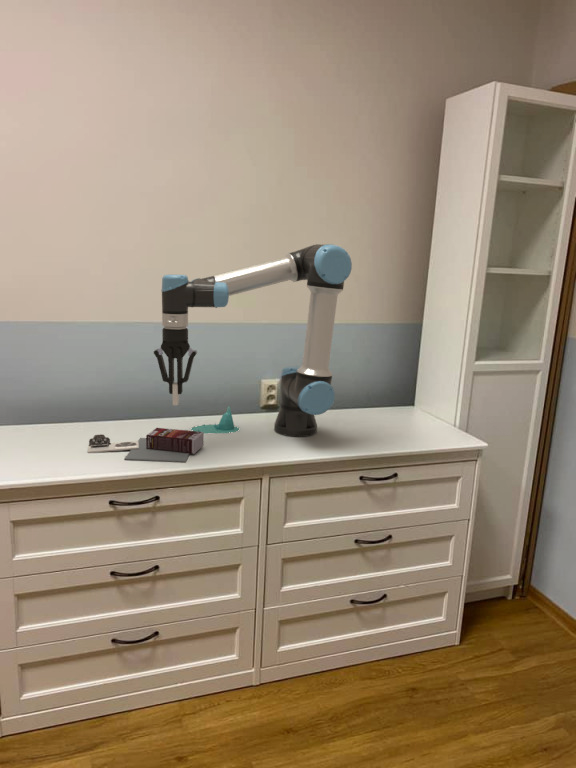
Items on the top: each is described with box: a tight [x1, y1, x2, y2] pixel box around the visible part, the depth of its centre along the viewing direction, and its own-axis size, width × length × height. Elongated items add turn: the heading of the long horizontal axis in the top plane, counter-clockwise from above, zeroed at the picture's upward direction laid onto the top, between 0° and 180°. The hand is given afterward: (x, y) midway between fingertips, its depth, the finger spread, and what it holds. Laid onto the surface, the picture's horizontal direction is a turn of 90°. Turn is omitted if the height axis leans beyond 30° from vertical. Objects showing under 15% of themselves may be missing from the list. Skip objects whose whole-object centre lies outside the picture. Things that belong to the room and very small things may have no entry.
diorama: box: [190, 405, 240, 434], centre depth 212 cm, size 12×20×9 cm, turn 100°
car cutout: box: [87, 434, 139, 454], centre depth 187 cm, size 15×7×4 cm, turn 105°
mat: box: [123, 437, 191, 463], centre depth 188 cm, size 18×20×1 cm
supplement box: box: [145, 427, 205, 455], centre depth 189 cm, size 9×5×16 cm
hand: (175, 404), depth 185 cm, fingers closed
